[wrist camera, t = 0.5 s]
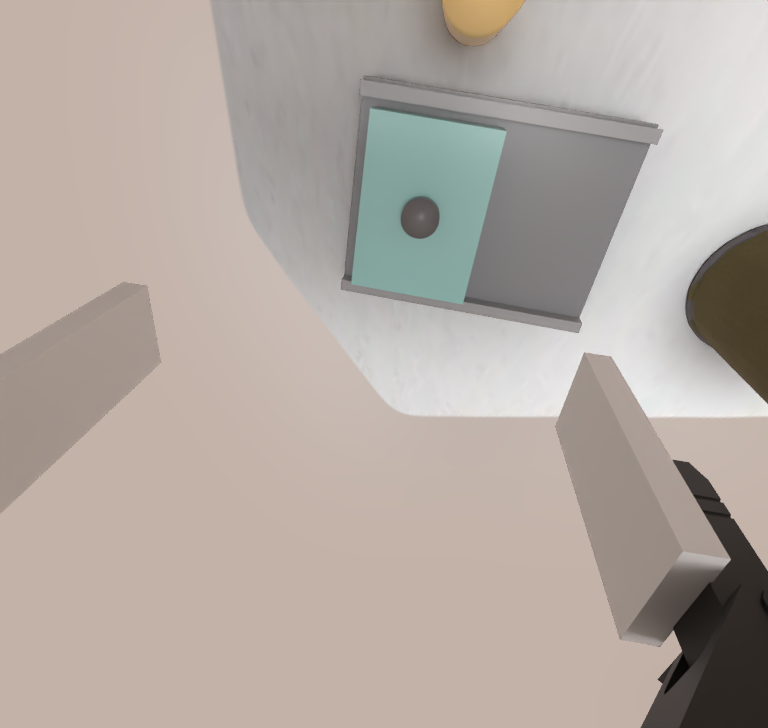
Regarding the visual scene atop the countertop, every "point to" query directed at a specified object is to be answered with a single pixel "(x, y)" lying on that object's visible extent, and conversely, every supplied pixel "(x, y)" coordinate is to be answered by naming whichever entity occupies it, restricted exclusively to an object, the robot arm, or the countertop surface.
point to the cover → (423, 202)
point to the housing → (526, 200)
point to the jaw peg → (478, 18)
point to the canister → (735, 306)
